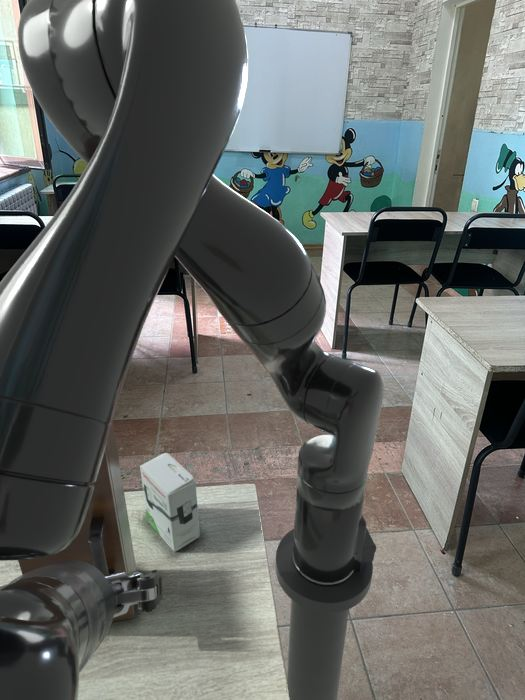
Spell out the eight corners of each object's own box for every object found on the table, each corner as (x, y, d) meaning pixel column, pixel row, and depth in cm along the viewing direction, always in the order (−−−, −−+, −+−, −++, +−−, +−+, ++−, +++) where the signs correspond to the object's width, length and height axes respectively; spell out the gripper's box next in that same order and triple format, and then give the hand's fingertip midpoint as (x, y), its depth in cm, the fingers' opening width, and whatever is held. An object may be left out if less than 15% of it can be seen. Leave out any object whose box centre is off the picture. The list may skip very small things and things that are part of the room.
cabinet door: (132, 646, 60) (94, 438, 45) (34, 663, 58) (-38, 452, 43) (134, 611, 64) (99, 411, 50) (42, 626, 62) (-21, 423, 48)
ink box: (145, 521, 78) (137, 463, 73) (171, 506, 81) (165, 449, 76) (174, 554, 72) (168, 494, 67) (201, 537, 75) (197, 478, 70)
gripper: (150, 550, 36) (162, 539, 51) (-58, 581, 34) (19, 560, 49) (156, 664, 34) (167, 617, 49) (-66, 706, 31) (17, 644, 46)
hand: (93, 589), depth 49 cm, fingers open, 8 cm apart
